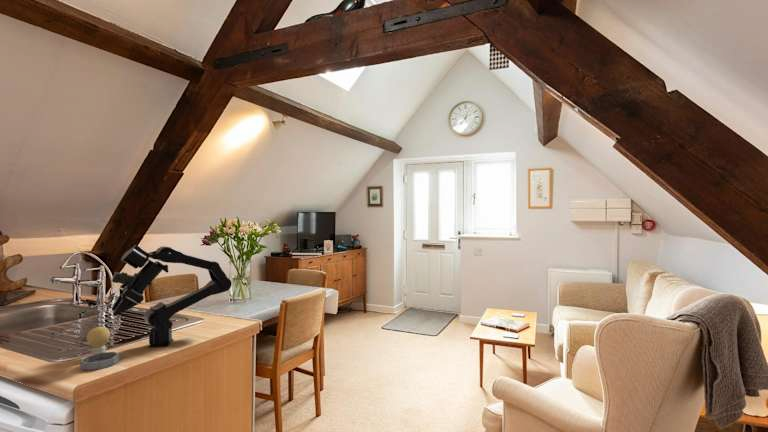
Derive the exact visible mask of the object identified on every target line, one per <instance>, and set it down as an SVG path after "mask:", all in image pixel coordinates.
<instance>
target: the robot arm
mask: <svg viewBox="0 0 768 432" xmlns="http://www.w3.org/2000/svg"><path fill="white" fill-rule="evenodd" d="M151 259H153V260H157V261H153V260H151ZM120 260H121V261H122V262H124V263H125V264H127V265H128V266H130V267H132V268H134V269H135V270H136V269H138V268H140V270H139V271H138V272H135V273H134V274H133V275H131V274H128V273H127V272H124V271H121V272H118V271H115V272H114V274H113V275H112V278H111V282H112V283H114V284H115V283H116V284H121V285H120V286H119V288H118V291H119V294H118V297H117V298H116V299H115V302H114V304H113V306H112V308H111V310H112V311H113V313H112V315H113V316H115V317H117V316H118V315H120V314H122V313H124V312H126V311H127V310H130V309H132V308H133V307H136V306H137V305H140V304H141V303H142V302H143V301H144V300H145V299H144V293H145V291H146V289H147V288H148V287H149V286H152V284H153V282H154V280H155V279H156V278H157V277H158V276H159V275H160V273H161V272H162V271H163V272H165V273H166V274H167V273H169V272H170V271H169V265H168V264H163V263H169V264H184V265H188V266H190V267H191V266H193V267H197V268H200V269H204V270H207V271H208V274H209V277H210V279H211V280H210V281H208V282H207V283H206V285H204V286H203V287H200V288H199V289H196V290H195V291H192V292H190V293H188V294H186V295H184V296H182V297H180V298H179V299H176V300H174V301H171V302H170V303H166V304H165V303H164V302H158V303H157V304H155V305H153V306H150V307H149V309H147V310H146V311H145V313H144V315H143V318H144V319H143V320H144V321H145V322H146V323H147V324H148V325H150V326H151V328H150V332H149V333H148V343H149V345H148V348H156V347H159V348H160V347H168V346H169V345H170V344H171V343H172V342H173V341H174V339H173V337H172V336H173V334H172V333H173V331H172V327H173V325H174V323H173V321H171V320H170V319H172V317H173V316H174V315H175V314H177V313H180V311H183V310H184V309H186V308H188V307H190V306H193V305H195V304H196V303H199V302H200V301H203V300H204V299H206V298H208V297H210V296H214V295H219V294H223V293H225V292H228V291H229V290H231V288H232V284H233V283H232V280H231V279H230V278H229V277H228V276H227V274H226V273H225V272H224V270H223V269H222V268H221V266H220V263H219V262H218V261H214V260H208V259H203V258H199V257H196V256H193V255H189V254H186V253H183V252H181V251H179V250H177V249H175V248H173V247H170V246H159V247H158V248H157V249H156V250H154V251H149V252H146V251H145V250H144V249H142V248H141V246H138V245H137V244H135V245H134V246H133V247H131V248H129V249H128V250H127V251H126V252H124V254H123V255H122V257H121V258H120ZM159 261H160V262H159ZM162 262H163V263H162Z"/></svg>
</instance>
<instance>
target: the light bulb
mask: <svg viewBox="0 0 768 432" xmlns="http://www.w3.org/2000/svg"><path fill="white" fill-rule="evenodd" d="M110 332H111V331H110V330H109V329H108V328H107V327H105V326H104V327H103V326H97V327H94V328H92V329H90V330H89V331H88V333H87V334H86V341H87V343H88V344H89V345H90V346H91V347H92V348H91V355H94V354H98V353H103V352H106V343H107V342H108V341H109V339H110V335H111V333H110Z"/></svg>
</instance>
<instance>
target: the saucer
mask: <svg viewBox="0 0 768 432" xmlns="http://www.w3.org/2000/svg"><path fill="white" fill-rule="evenodd" d="M119 360H120V353H119V352H116V351H105V352H103V353H98V354H94V355H92V354H90V355H88V356H85V357H84V358H83V359H82V358H81V360H79V367H80V368H81V370H82V371H97V370H102V369H106V368H110V367H112V366H114V365H116V364H117V363H118V362H119Z"/></svg>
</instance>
